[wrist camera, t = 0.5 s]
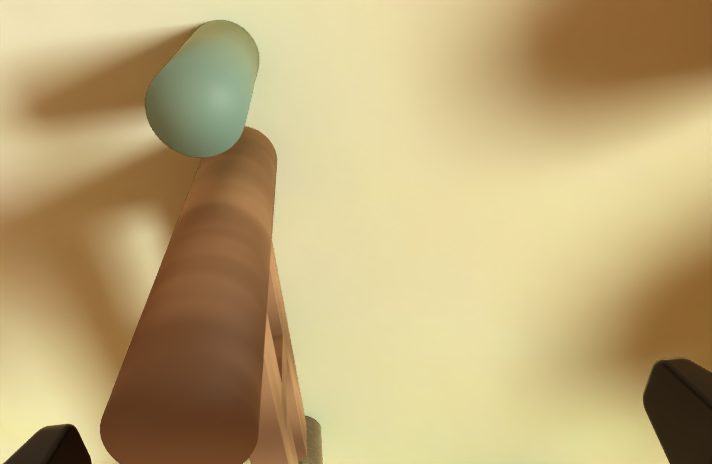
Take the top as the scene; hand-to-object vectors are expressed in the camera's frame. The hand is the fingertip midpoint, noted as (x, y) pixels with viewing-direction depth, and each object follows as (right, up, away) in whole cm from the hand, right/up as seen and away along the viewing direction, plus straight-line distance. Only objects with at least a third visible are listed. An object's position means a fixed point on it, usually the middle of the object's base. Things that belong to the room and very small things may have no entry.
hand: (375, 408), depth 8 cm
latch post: (-5, +9, +10) cm, 14 cm away
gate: (-4, 0, +14) cm, 15 cm away
